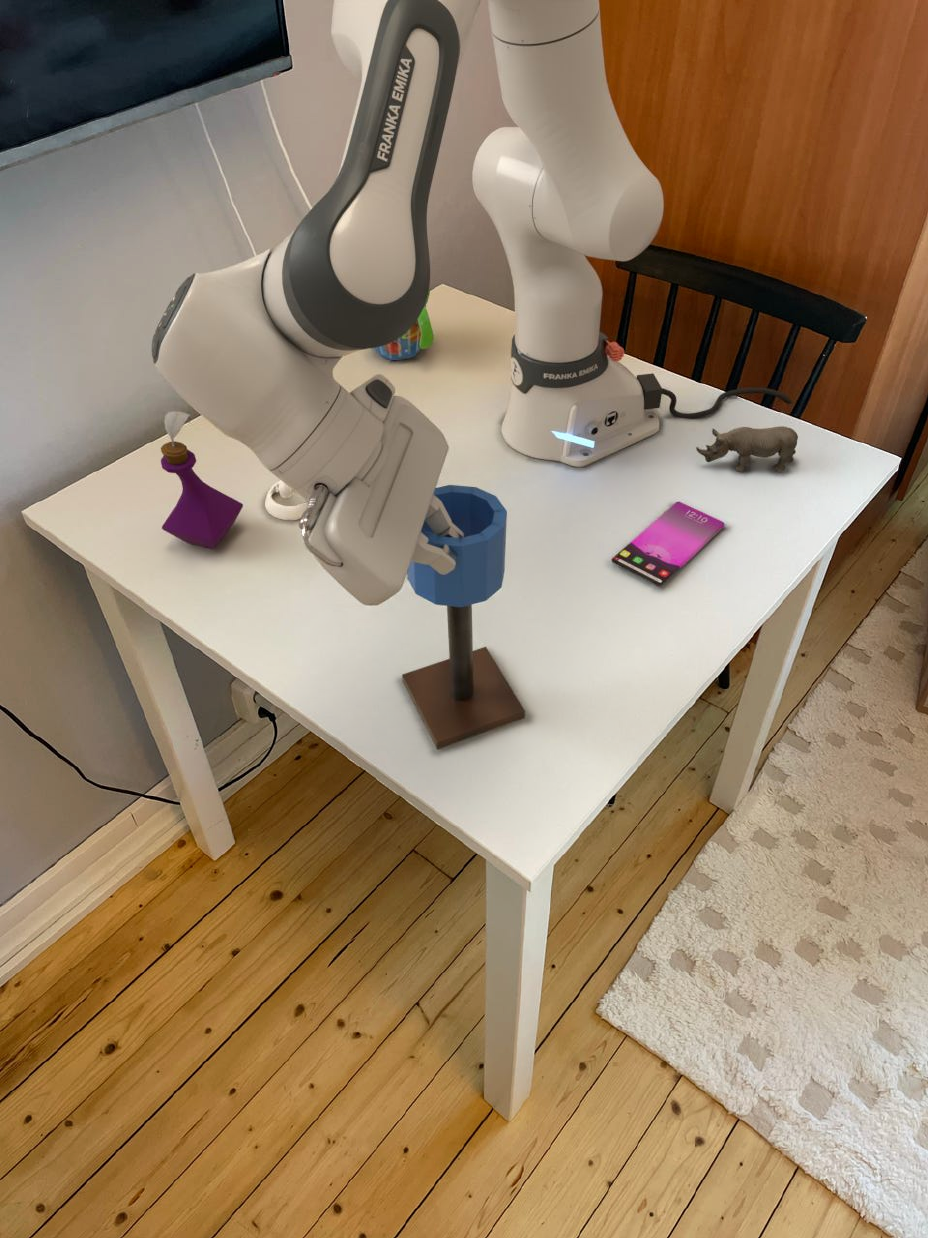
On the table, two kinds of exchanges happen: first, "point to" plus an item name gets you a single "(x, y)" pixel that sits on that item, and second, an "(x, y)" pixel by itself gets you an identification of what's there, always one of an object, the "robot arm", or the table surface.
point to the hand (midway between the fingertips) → (454, 555)
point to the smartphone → (668, 543)
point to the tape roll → (465, 549)
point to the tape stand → (462, 688)
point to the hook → (281, 510)
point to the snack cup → (410, 339)
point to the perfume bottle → (194, 495)
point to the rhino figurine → (754, 445)
